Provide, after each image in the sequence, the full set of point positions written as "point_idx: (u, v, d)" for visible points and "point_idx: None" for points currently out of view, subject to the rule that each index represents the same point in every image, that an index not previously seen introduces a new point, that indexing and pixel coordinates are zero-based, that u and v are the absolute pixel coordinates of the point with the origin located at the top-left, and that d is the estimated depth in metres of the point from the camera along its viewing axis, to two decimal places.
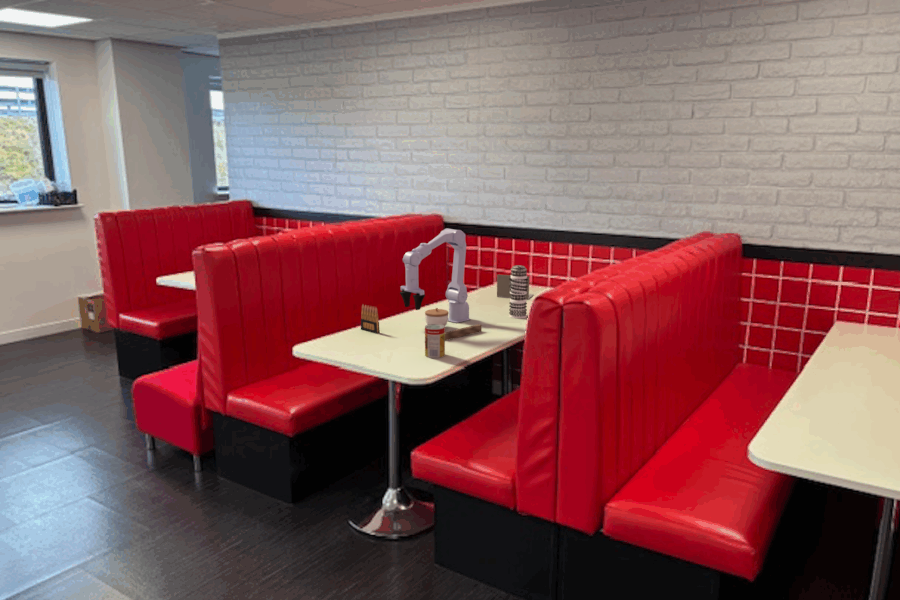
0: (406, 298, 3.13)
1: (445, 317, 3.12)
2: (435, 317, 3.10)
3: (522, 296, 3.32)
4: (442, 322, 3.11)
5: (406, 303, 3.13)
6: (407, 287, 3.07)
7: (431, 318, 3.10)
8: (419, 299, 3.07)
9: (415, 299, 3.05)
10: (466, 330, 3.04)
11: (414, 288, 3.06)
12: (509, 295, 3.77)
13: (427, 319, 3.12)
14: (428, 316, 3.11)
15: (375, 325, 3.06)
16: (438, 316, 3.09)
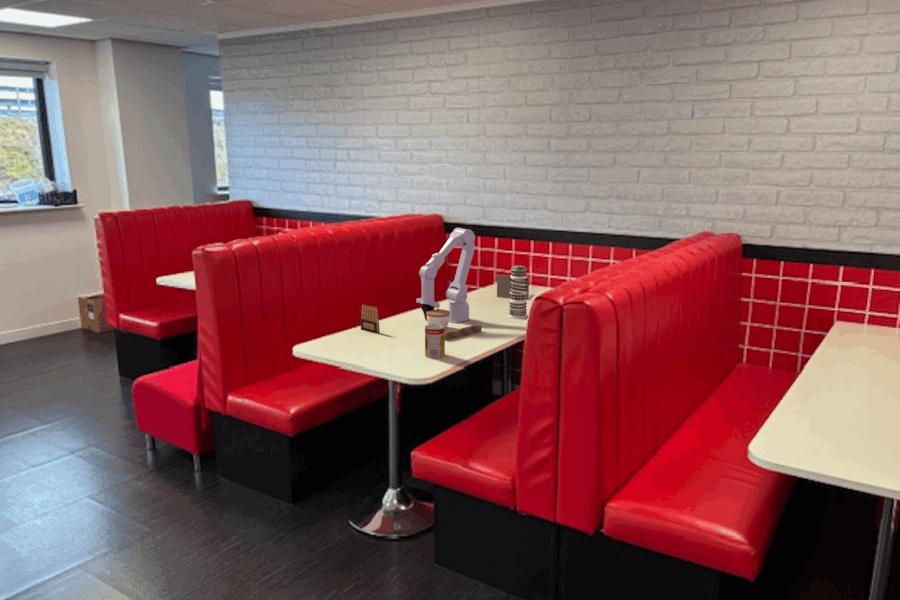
0: None
1: (446, 317, 3.11)
2: (436, 317, 3.09)
3: (522, 296, 3.32)
4: (443, 322, 3.10)
5: None
6: (423, 300, 3.16)
7: (432, 318, 3.10)
8: None
9: (425, 310, 3.17)
10: (466, 330, 3.04)
11: (430, 301, 3.15)
12: (509, 295, 3.77)
13: (429, 319, 3.11)
14: (429, 316, 3.10)
15: (375, 325, 3.06)
16: (439, 316, 3.09)
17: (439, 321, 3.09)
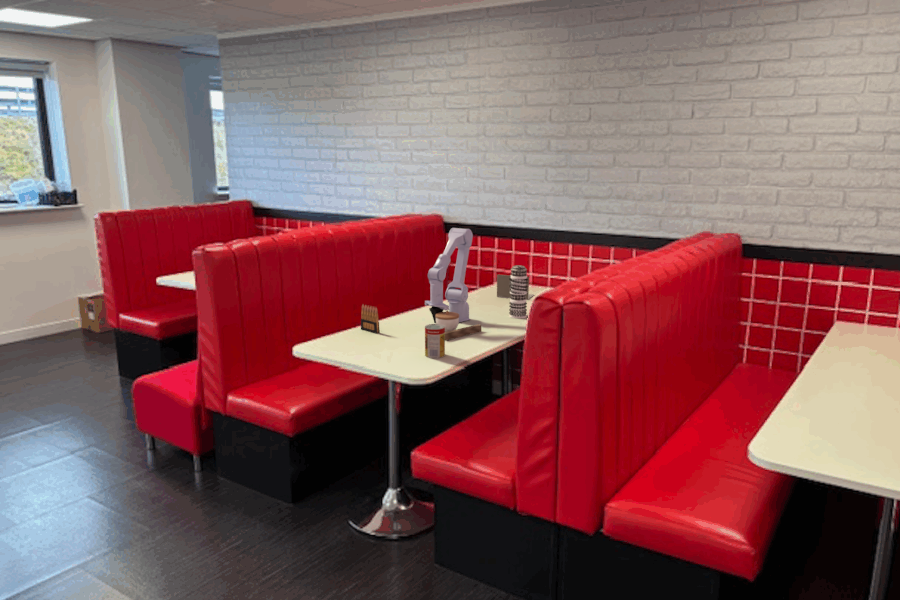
0: (435, 314, 3.14)
1: (456, 320, 3.06)
2: (446, 320, 3.04)
3: (522, 296, 3.32)
4: (452, 325, 3.06)
5: (435, 319, 3.15)
6: (432, 302, 3.11)
7: (442, 321, 3.05)
8: None
9: (434, 313, 3.12)
10: (466, 330, 3.04)
11: (439, 303, 3.11)
12: (509, 295, 3.77)
13: (438, 322, 3.06)
14: (438, 319, 3.06)
15: (375, 325, 3.06)
16: (449, 319, 3.04)
17: (448, 324, 3.05)
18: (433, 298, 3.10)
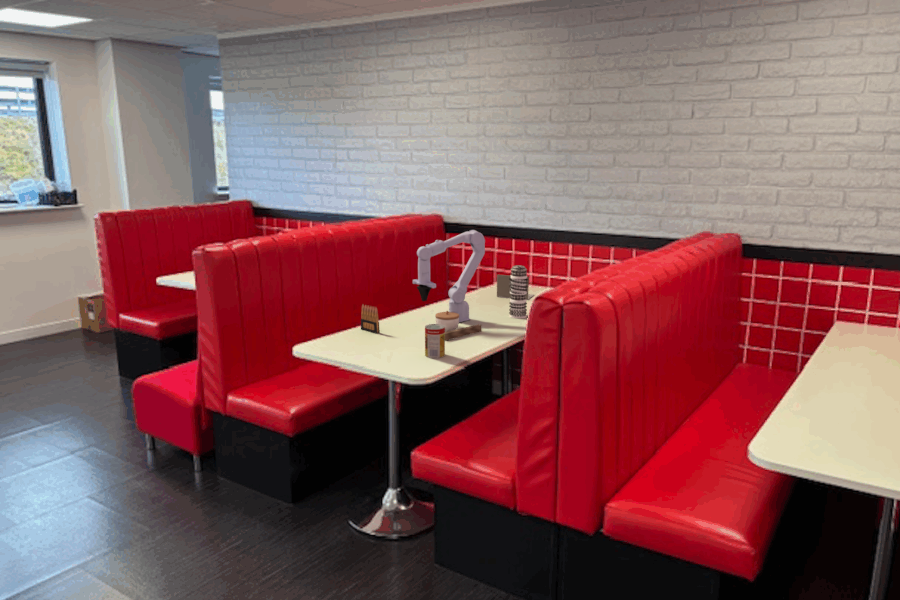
0: None
1: (456, 320, 3.06)
2: (446, 320, 3.04)
3: (522, 296, 3.32)
4: (452, 325, 3.06)
5: None
6: (419, 280, 3.20)
7: (442, 321, 3.05)
8: (426, 291, 3.23)
9: (422, 291, 3.20)
10: (466, 330, 3.04)
11: (426, 281, 3.19)
12: (509, 295, 3.76)
13: (438, 322, 3.06)
14: (438, 319, 3.06)
15: (375, 325, 3.06)
16: (449, 319, 3.04)
17: (448, 324, 3.05)
18: (421, 276, 3.19)
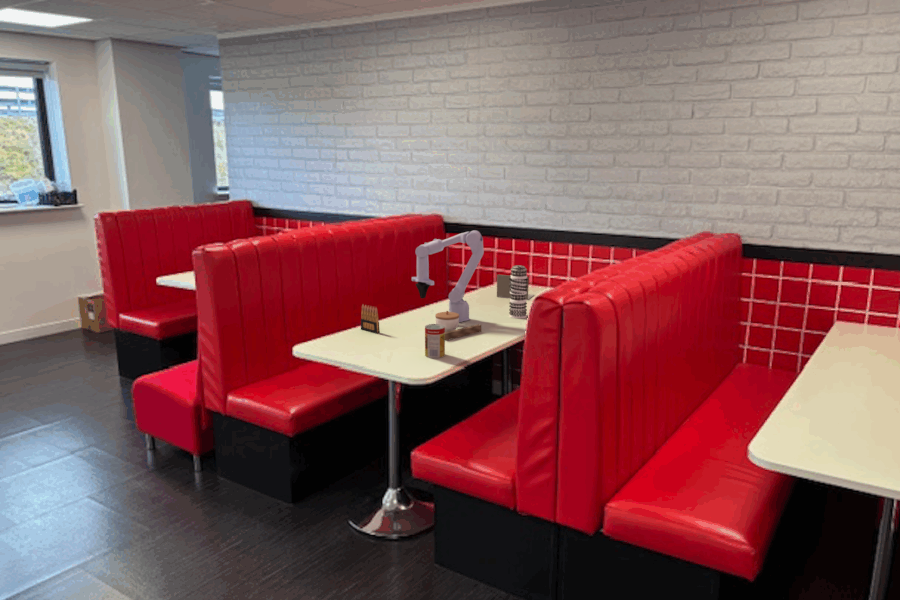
0: None
1: (456, 320, 3.06)
2: (446, 320, 3.04)
3: (522, 296, 3.32)
4: (452, 325, 3.06)
5: None
6: (418, 278, 3.26)
7: (442, 321, 3.05)
8: (424, 288, 3.29)
9: (421, 288, 3.27)
10: (466, 330, 3.04)
11: (424, 279, 3.25)
12: (509, 295, 3.76)
13: (438, 322, 3.06)
14: (438, 319, 3.06)
15: (375, 325, 3.06)
16: (449, 319, 3.04)
17: (448, 324, 3.05)
18: (419, 274, 3.25)
